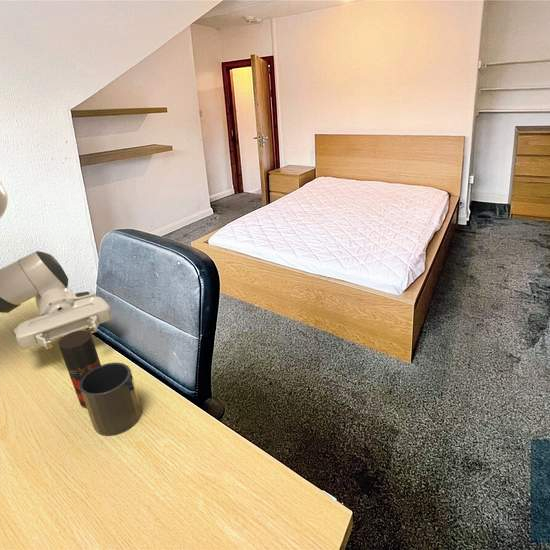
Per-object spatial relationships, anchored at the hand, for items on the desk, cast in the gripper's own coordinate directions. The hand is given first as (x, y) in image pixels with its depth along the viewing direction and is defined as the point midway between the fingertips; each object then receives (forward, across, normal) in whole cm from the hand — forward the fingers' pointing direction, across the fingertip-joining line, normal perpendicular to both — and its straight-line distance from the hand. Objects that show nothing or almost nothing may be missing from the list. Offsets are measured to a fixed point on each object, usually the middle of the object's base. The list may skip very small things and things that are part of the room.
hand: (71, 337), depth 91 cm
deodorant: (+12, 0, +9) cm, 15 cm away
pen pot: (+20, +2, +9) cm, 23 cm away
